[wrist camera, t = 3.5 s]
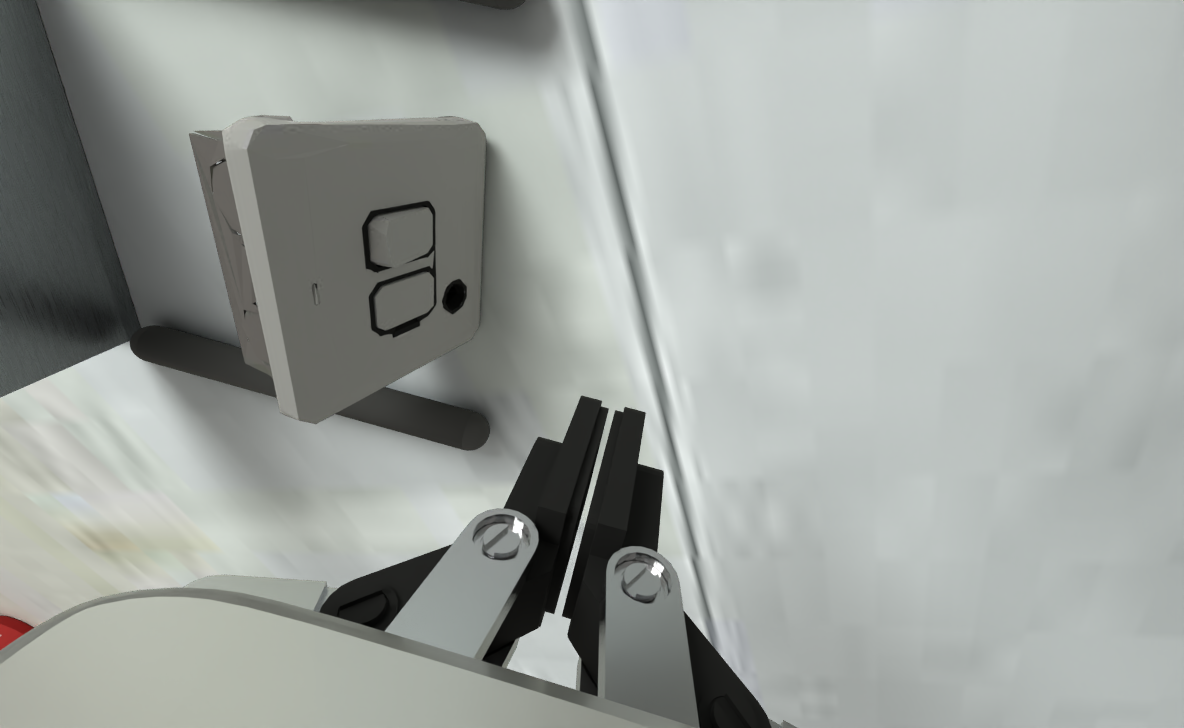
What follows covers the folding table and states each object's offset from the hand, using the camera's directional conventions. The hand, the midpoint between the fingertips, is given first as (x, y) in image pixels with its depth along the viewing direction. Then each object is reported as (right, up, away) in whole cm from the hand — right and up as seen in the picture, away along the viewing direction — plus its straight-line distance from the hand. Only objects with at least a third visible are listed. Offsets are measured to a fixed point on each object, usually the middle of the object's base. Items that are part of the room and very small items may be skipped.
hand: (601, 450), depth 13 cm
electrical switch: (-7, +8, +9) cm, 14 cm away
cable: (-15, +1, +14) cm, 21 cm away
